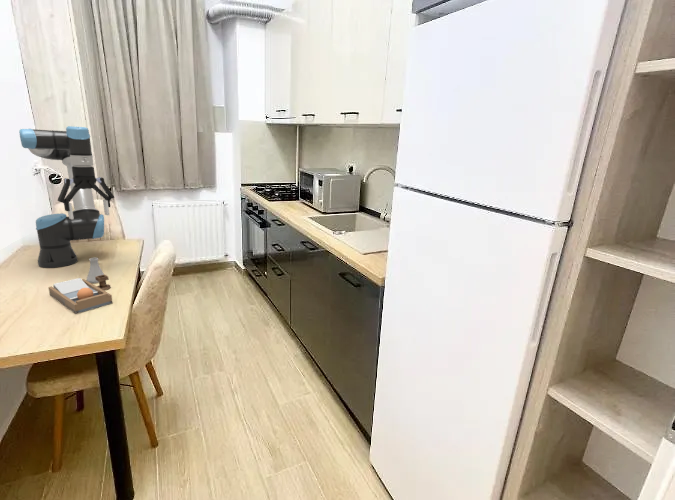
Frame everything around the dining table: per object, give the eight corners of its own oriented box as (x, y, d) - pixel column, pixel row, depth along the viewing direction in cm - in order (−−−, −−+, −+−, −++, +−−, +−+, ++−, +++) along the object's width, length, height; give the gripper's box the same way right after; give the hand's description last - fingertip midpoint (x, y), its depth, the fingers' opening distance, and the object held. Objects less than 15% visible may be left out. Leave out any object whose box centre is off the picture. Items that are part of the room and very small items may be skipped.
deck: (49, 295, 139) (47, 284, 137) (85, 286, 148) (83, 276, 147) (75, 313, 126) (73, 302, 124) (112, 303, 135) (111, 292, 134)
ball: (78, 302, 133) (72, 291, 132) (92, 296, 137) (86, 284, 136) (84, 304, 131) (77, 292, 129) (98, 297, 134) (92, 285, 133)
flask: (110, 279, 157) (107, 257, 154) (95, 284, 151) (91, 262, 148) (98, 276, 159) (95, 255, 157) (82, 281, 153) (79, 259, 150)
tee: (93, 288, 147) (92, 276, 145) (107, 285, 151) (105, 273, 149) (99, 291, 144) (97, 279, 143) (112, 288, 148) (111, 276, 147)
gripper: (49, 167, 135) (58, 222, 141) (119, 166, 155) (124, 214, 161) (42, 165, 139) (51, 219, 145) (111, 165, 159) (116, 212, 165)
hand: (89, 216), depth 153 cm, fingers open, 13 cm apart
